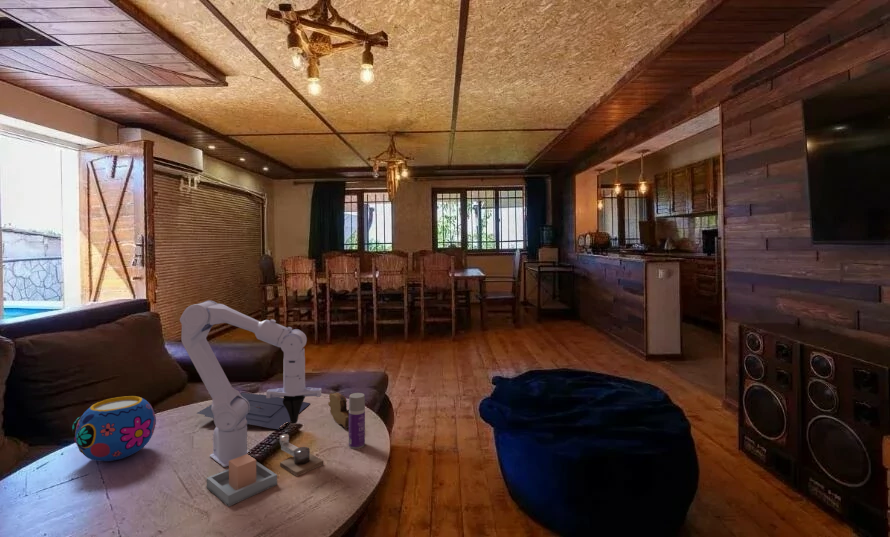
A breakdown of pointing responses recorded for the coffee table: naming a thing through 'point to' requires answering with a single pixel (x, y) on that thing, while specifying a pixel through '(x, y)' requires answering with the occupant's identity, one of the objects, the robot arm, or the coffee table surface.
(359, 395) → the container
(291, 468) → the crank base
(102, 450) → the ceramic pot
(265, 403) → the dark grey flat slab
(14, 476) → the coffee table surface
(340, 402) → the wooden carving
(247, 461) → the block
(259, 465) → the tray
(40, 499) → the coffee table surface
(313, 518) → the coffee table surface
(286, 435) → the crank
